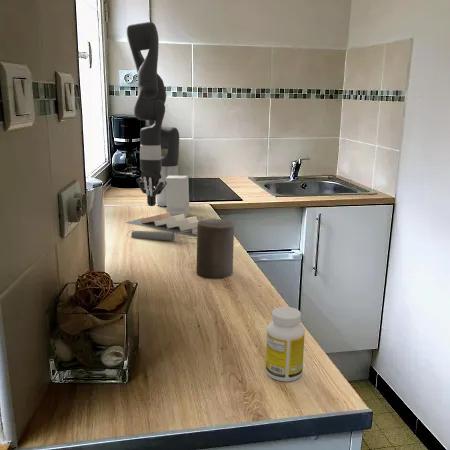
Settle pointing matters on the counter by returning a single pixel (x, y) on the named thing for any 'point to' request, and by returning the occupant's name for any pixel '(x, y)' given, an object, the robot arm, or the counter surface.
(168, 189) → the skincare box
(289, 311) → the pill bottle
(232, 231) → the pillar candle
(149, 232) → the kitchen whisk
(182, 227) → the domino
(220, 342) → the counter surface
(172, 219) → the domino
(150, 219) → the domino
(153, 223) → the mat
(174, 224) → the domino
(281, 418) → the counter surface
